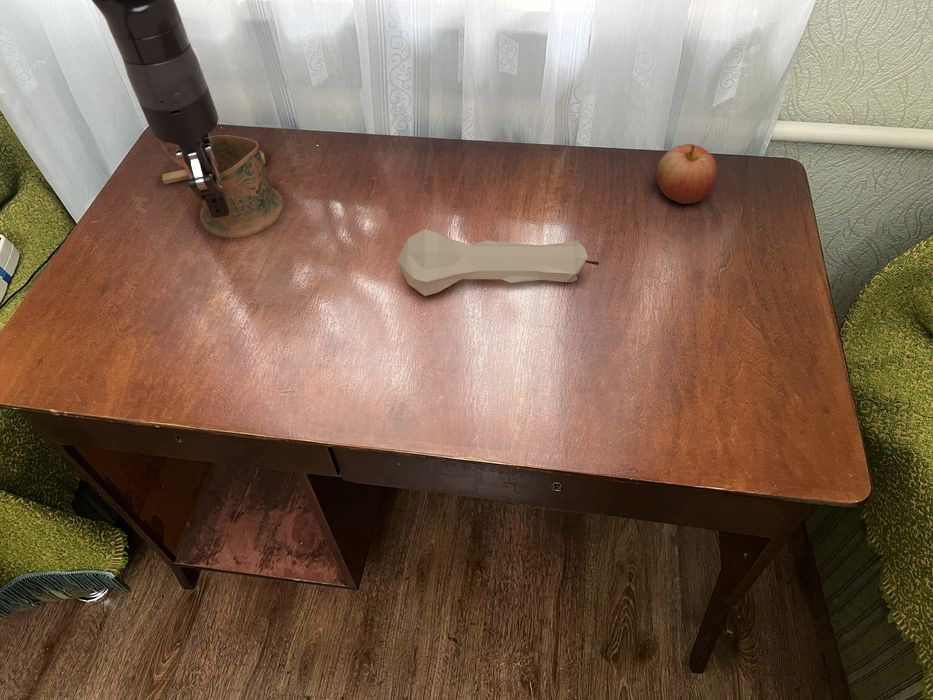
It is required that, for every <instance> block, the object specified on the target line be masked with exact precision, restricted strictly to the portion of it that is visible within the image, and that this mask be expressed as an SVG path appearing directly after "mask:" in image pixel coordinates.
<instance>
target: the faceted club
mask: <svg viewBox="0 0 933 700" xmlns="http://www.w3.org/2000/svg"><path fill="white" fill-rule="evenodd" d="M588 257H589V256H588V253H587V250H586V248H585V247H584V245H582V243H580V241H578V240H575V241H574V240H573V241H569V242H559V243H550V244H549V243H547V244H541V245H540V244H531V243H530V244H529V243H516V242H515V243H514V242H503V241H502V242H501V241H496V240H489V239H488V240H487V239H485V240H483V241H480V242H476V243H474V244H469V243H466V242H461V241H458V240H455V239H452V238H449V237H448V236H446V235H445V234H443V233H442V232H439V231H437V230H433V229H430V228H426V227H423V228H422V229H421V230H419V231H417V232H415V233H414V234H412V235H411V236H409V237H408V238H407V240H406V241H405V244H404V245H403V247H402V249H401V251H400V253H399V255H398V257H397V259H396V263H397V264H398V266H399V268H400V270H401V272H402V274H403V276H404V278H405V280H406V283H407V284H408V285H409V286H410V287H412V288H413V289H415V290H416V291H417V292H419V293H420V294H421V295H422V296H424V297H426V296H430V295H432V294H437V293H440V292H442V291H444V290H445V289H446V288H448V287H451V286H452V285H454V284H455V283H457V282H459V281H461V280H502V281H505V282H507V283H510V284H513V283H514V284H515V283H523V282H531V281H540V280H542V281H552V282H561V283H574V282H576V281H577V280H578V277H577V275H578V274H580V272H581V270H582V269H583V267H584V265H585V263H587V264H591V265H594V266H599V265H600V262H599V261H594V260H593V261H592V260H587V259H588Z"/></svg>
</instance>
